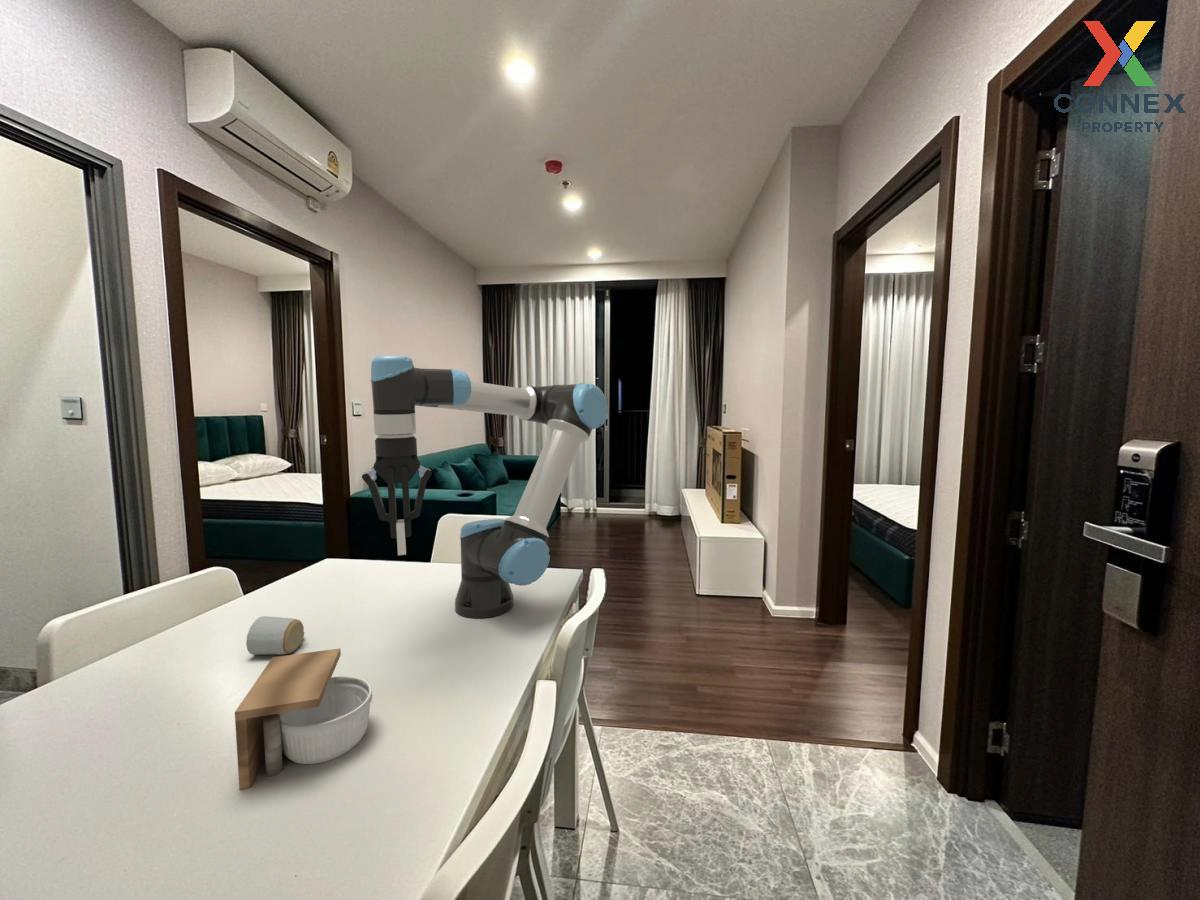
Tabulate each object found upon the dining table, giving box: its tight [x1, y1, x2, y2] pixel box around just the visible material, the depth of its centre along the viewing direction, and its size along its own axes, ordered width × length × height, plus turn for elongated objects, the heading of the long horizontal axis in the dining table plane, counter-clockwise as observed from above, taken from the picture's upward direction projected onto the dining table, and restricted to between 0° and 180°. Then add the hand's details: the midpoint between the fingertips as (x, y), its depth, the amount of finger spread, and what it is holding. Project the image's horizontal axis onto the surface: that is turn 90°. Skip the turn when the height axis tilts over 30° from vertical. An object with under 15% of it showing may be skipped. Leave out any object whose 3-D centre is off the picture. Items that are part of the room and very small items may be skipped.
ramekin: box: [278, 675, 373, 765], centre depth 75 cm, size 13×13×7 cm
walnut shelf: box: [234, 648, 342, 790], centre depth 73 cm, size 10×15×11 cm, turn 18°
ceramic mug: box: [245, 615, 305, 656], centre depth 103 cm, size 11×8×8 cm
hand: (402, 552), depth 96 cm, fingers closed
